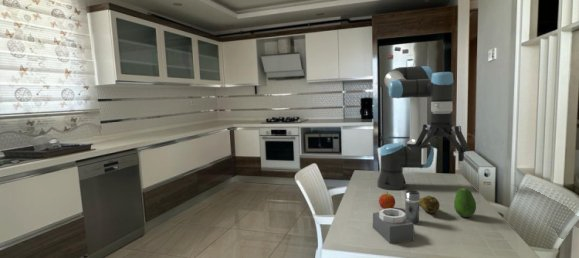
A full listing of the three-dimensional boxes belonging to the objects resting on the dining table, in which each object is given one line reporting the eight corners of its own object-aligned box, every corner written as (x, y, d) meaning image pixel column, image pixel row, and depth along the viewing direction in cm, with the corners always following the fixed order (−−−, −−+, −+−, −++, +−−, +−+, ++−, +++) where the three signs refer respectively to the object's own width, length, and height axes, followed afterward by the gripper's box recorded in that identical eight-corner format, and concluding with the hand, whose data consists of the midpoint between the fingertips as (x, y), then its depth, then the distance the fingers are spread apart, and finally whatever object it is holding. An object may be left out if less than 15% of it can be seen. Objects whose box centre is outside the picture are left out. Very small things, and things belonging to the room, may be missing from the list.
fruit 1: (390, 213, 135) (391, 195, 134) (376, 209, 140) (376, 192, 139) (397, 208, 140) (397, 191, 139) (383, 205, 145) (383, 188, 144)
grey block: (372, 227, 121) (372, 207, 120) (394, 225, 123) (394, 205, 122) (389, 243, 109) (389, 221, 108) (413, 240, 110) (413, 218, 109)
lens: (402, 219, 128) (402, 190, 127) (414, 218, 129) (414, 189, 128) (409, 225, 123) (410, 194, 121) (422, 223, 124) (422, 193, 122)
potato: (438, 208, 139) (439, 190, 138) (439, 219, 127) (439, 200, 127) (418, 206, 142) (418, 189, 142) (417, 216, 131) (417, 198, 130)
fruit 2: (477, 221, 124) (478, 192, 123) (455, 219, 127) (456, 190, 125) (473, 214, 131) (474, 186, 130) (452, 212, 134) (453, 184, 133)
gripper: (406, 112, 129) (406, 163, 132) (471, 114, 110) (469, 173, 112) (416, 111, 134) (416, 160, 136) (480, 112, 114) (478, 170, 117)
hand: (440, 166), depth 124 cm, fingers open, 13 cm apart
